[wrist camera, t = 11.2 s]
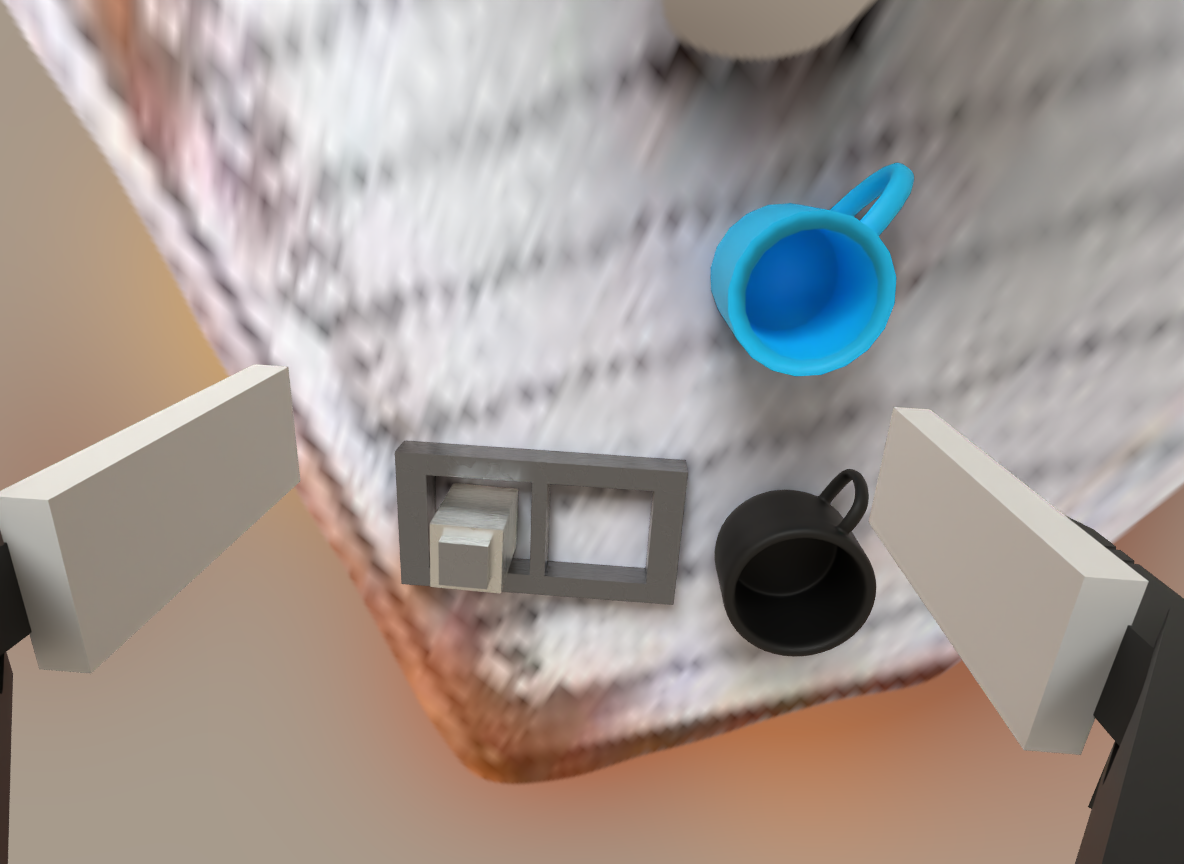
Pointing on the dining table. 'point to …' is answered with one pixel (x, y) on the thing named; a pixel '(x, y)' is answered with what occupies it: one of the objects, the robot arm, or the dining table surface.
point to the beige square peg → (473, 538)
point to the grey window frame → (547, 515)
